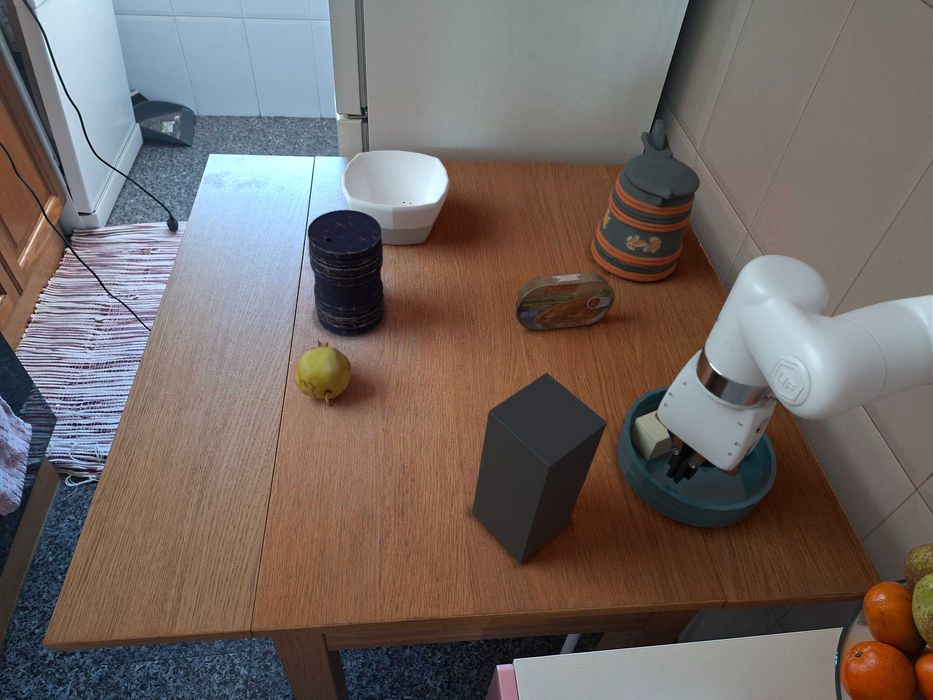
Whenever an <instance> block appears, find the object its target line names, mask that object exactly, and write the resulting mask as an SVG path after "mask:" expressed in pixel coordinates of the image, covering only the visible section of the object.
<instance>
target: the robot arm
mask: <svg viewBox="0 0 933 700" xmlns="http://www.w3.org/2000/svg"><path fill="white" fill-rule="evenodd" d="M829 299H830V290H829V286H828V284H827V281H826V280H825V278H824V277H823V276H822V274H820V272H818V270H816V269H815V268H814V267H813V266H811V265H809V264H808V263H807V262H804V261H802V260H800V259H797V258H795V257H793V256H787V255H782V254H766V255H761V256H758V257H755V258H753V259H751V260H750V261H749V262H748V263H746V264H745V265H744V266H743V267H742V269H741V271H740V273H739V274H738V275H737V278H736V280H735V281H734V284H733V286H732V288H731V291H730V292H729V294H728V296H727V298H726V300H725V302H724V304H723V306H722V308H721V310H720V312H719V314H718V317H717V319H716V320H715V323H714V325H713V326H712V329H711V331H710V333H709V335H708V338H707V339H706V341H705V342H704V345H703V346H702V349H700V350H698V351H697V352H696V353H695V354H694V355H693V356H692V357H691V358H690V359H689V360H688V361H687V363H686V364H685V365H684V366H683V367H682V368H681V370H680V372H679V373H678V374H677V375H676V377H675V379H674V380H673V381H672V383H671V384H670V385H669V387H670V388H669V389H668V391H667V392H666V394H665V396H664V397H663V399H662V401H661V403H660V405H659V408H658V412H657V413H656V414H655V417H656V419H657V420H658V421H659V422H660V423H661V424H662V425H663V426H664V427H665V428H667V431H668V434H669V436H670V439H671V441H672V446H671V450H672V452H673V454H672V455H671V457H670V459H669V461H668V464H669V465H670V468H669V470H668V472H667V474H666V476H667V477H669V478H673V480H674V482H675V483H676V484H678V483H679V482H680V481H681V480H682V479H683V478H684V477H685V478H686V479H687V480H689V479H691V478H692V477H693V476H694V474H695V473H696V472H697V470H698V468H699V467H711V468H715V467H717V468H718V470H720V471H722V472H724V473H726V474H727V475H729V476H731V477H734V476H735V475H736V474H737V473H738V472H739V471H740V470H741V467H742V463H743V459H744V456H745V455H746V456H748V455H749V454H750V453H751V452H752V450H753V449H754V448H755V446H756V445H757V443H758V441H759V440H760V438H761V436H762V434H763V432H765V431H766V428H767V427H768V425H769V423H770V421H771V418H772V416H773V413H774V411H775V407H776V405H777V404H779V405H780V406H783V407H784V408H786V410H788V411H789V412H790V413H791V414H793V415H794V416H796V417H799V418H801V419H804V420H808V421H822V420H827V419H831V418H834V417H837V416H839V415H842V414H844V413H847V412H850V411H852V410H855V409H858V408H860V407H863V406H865V405H867V404H870V403H872V402H874V401H877V400H879V399H882V398H884V397H887V396H890V395H892V394H895V393H898V392H901V391H904V390H906V389H909V388H914V387H919V386H930V385H933V294H927V295H920V296H913V297H905V298H900V299H899V298H898V299H893V300H888V301H882V302H878V303H874V304H870V305H867V306H863V307H860V308H856V309H853V310H850V311H847V312H844V313H841V314H838V315H835V316H827V315H823V313H824V312H825V310H826V308H827V305H828V303H829ZM694 450H695V451H694Z"/></svg>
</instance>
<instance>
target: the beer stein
mask: <svg viewBox="0 0 933 700" xmlns="http://www.w3.org/2000/svg"><path fill="white" fill-rule="evenodd" d="M640 140H641V142H642V145H643V149H644V152H643V153H642V154H639V155H636V156H634V157H631V158H630V159H629V160H628V161H627V163H626V164H625V165H624V167H623V170H622V171H620V173H618V175H617V177H616V181H615V184H614V186H613V188H612V190H611V192H610V196H609V198H608V207H607V209H606V211H605V215H604V216H602V218H601V220H600V221H599V223H598V225H597V229H596V232H595V234H594V236H593V238H592V240H591V245H590V250H591V254H592V257H593V259H594V261H596V263H597V264H598V265H599V266H600V267H601V268H602V269H604V270H605V271H607V272H608V273H610V274H612V275H613V276H615V277H618V278H621V279H622V280H626V281H631V282H635V283H650V282H657V281H660V280H661V281H662V280H663V279H666V278H667V277H668V276H670V275H671V274H673V273H674V272H675V271H676V267H677V264H678V260H679V258H680V255H681V251H682V249H683V236H684V232H685V228H686V225H687V224H688V223H689V221H690V219H691V214H692V210H693V205H694V201H695V199H696V198H695V197H696V192H697V191H698V190H699V188H700V185H701V181H700V180H701V179H700V177H699V175H698V174H697V172H695V170H694V169H692V168H691V167H690V166H689V165H687V164H686V163H684V162H682V161H681V160H679V159H677V158H675V157H674V155H673V154H674V153H673V151H672V149H671V147H670V143H669V139H668V134H667V133H666V126H665V120H664V119H656V120H655V122H654V126H653V128H652V131H651V132H646V131H643V132H642V133H641V136H640Z"/></svg>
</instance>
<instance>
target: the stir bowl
mask: <svg viewBox="0 0 933 700" xmlns="http://www.w3.org/2000/svg"><path fill="white" fill-rule="evenodd" d="M669 388H670V386H662V387H658V388H655V389H652V390H650V391H647V392H645V393H644V394H643V395H641V396H640V397H638V398H637V399H636V400H635V401H634V402H633V404H632V405H631V407H629V410H628V411H627V413H626V415H625V418H624V420H623V422H622V425H621V428H620V430H619V433H618V436H617V442H616V446H615V447H616V455H617V456H616V457H617V463H618V465H619V467H620V469H621V472H622V475H623V477H624V479H625V481H626V482H627V483H628V485H629V486H630V488H631V489H632V490H633V491H634V492H635V494H636V495H637V496H638V497H639V498H640V499H642V501H644V503H646V504H647V505H648V506H650V507H651V508H652V509H653V510H655V511H657V512H659V513H660V514H662V515H663V516H665V517H667V518H669V519H671V520H674V521H676V522H679V523H683V524H685V525H688V526H692V527H699V528H709V529H710V528H711V529H715V528H716V529H717V528H721V527H727V526H732V525H734V524H736V523H739V522H741V521H742V520H744V519H746V518H748V517H749V516H750V515H752V512H754V510H755V509H756V508H757V507H758V506H759V505H760V504H761V502H762V501H763V500H764V499H765V497H766V496H767V494H768V493H769V492H770V491H771V489H772V487H773V484H774V483H775V479H776V477H777V457H776V453H775V450H774V447H773V444H772V441H771V440H770V438H769V436H768V435H767V433H766V432H765V431H764V432H763V434H762V436H761V438H760V440H759V441H758V443H757V445H756V446H755V448H754V449H753V450H752V452H751V453H750V454H749V455H748V456H746V455H745V456H744V459H743V463H742V467H741V470H740V471H739V472H738V473H737V474H736V475H735V476H734V477H731V476H729V475H727V474H726V473H724V472H722V471H720V470H718V468H717V467H715V468H711V467H699V468H698V470H697V472H696V473H695V474H694V476H693V477H692V478H691V479H689V480H687V479H686V478H685V477H684V478H683V479H682V480H681V481H680V482H679V483H678V484H676V483H675V482H674V480H673V478H669V477H667V476H666V474H667V472H668V470H669V468H670V465H669V464H668V461H669V459H670V457H671V455H672V454H673V452H672V451H670V452H667V453H665V454H663V455H660V456H658V457H656V458H653V459H651V460H649V461H647V460H646V458H645V457H644V456H643V455H642V453H641V452H640V451H639V450H638V448H637V447H636V446H635V445H634V443H633V442H632V441H631V440H630V433H631V431H632V428H633V426H634V424H635V422H636V419H637V418H639V417H642V416H644V415H647V414H649V413H652V412H654V411H657V410H658V408H659V405H660V403H661V401H662V399H663V397H664V396H665V394H666V392H667V391H668V389H669ZM694 451H695V450H694Z"/></svg>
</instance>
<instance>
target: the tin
mask: <svg viewBox="0 0 933 700" xmlns="http://www.w3.org/2000/svg"><path fill="white" fill-rule="evenodd" d="M614 303H615V291H614V289H613V287H612V286H611V285H610V284H609V282H608V281H607V280H606V278H605V277H604V276H602V275H601V274H599V273H596V272H579V273H578V272H577V273H567V274H557V275H545V276H538V277H535V278H532V279H530V280H527V281H526V282H525V283H524V284H522V285H521V286H520V287H519V288H518V290H517V291H516V292H515V296H514V299H513V310H514V314H515V317H516V320H517V321H518V324H520V325H521V326H522V327H523V328H524V329H528V330H531V331H544V330H545V331H546V330H554V329H555V330H556V329H565V328H575V327H584V326H589V325H592V324H594V323H597V322H598V321H600V320H601V319H602V318H604V317H605V316H606V315H607V314H608V313H609V312H610V311H611V309H612V307H613V306H614Z"/></svg>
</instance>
